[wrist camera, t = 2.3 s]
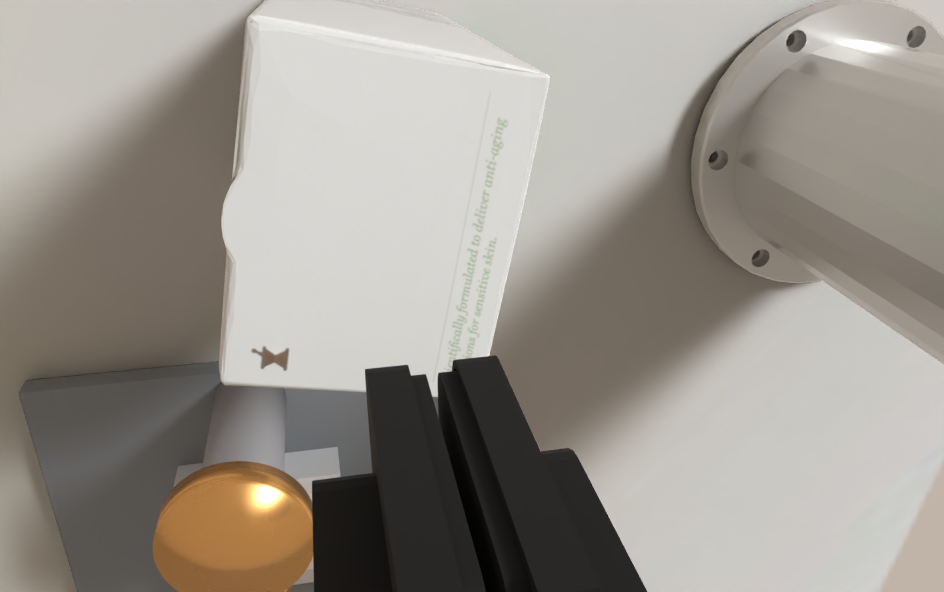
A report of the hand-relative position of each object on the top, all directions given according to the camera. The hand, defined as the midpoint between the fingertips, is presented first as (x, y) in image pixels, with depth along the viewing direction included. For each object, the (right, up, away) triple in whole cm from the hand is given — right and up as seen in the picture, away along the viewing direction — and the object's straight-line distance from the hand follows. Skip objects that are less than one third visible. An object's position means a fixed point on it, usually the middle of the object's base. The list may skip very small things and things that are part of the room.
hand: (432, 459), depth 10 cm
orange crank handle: (-8, -11, +24) cm, 28 cm away
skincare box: (-5, +10, +21) cm, 23 cm away
